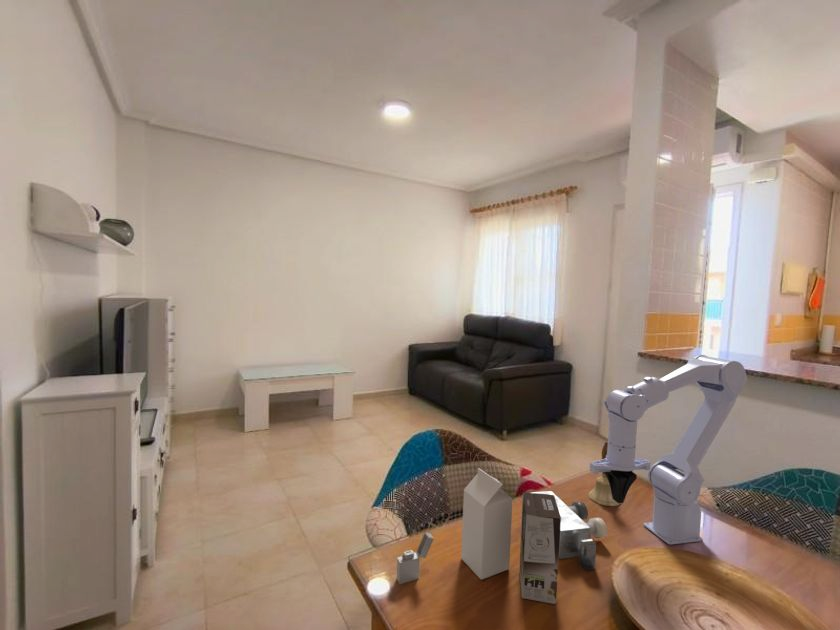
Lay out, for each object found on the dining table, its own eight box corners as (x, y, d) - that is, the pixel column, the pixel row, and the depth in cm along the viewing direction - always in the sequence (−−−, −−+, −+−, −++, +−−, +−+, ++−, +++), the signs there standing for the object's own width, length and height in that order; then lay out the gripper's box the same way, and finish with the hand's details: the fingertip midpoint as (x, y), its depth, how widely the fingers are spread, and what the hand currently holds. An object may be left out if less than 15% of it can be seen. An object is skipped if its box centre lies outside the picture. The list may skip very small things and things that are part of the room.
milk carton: (481, 581, 77) (484, 486, 76) (460, 558, 84) (464, 471, 83) (509, 570, 81) (513, 479, 80) (488, 549, 87) (491, 465, 86)
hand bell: (581, 492, 114) (585, 438, 113) (606, 490, 116) (610, 436, 115) (601, 508, 106) (605, 449, 105) (628, 505, 108) (631, 447, 107)
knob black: (577, 514, 101) (578, 498, 100) (587, 523, 97) (588, 507, 96) (550, 516, 99) (551, 501, 99) (559, 525, 95) (560, 509, 95)
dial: (588, 560, 84) (590, 535, 84) (598, 570, 82) (599, 544, 81) (576, 562, 84) (577, 536, 84) (584, 572, 81) (586, 545, 81)
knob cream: (595, 530, 94) (596, 514, 93) (606, 540, 90) (607, 523, 90) (566, 533, 92) (567, 516, 92) (576, 544, 88) (577, 526, 88)
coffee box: (557, 605, 72) (562, 519, 71) (520, 598, 73) (524, 514, 72) (551, 571, 81) (555, 494, 80) (518, 565, 82) (522, 490, 81)
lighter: (399, 584, 76) (400, 544, 75) (396, 578, 77) (397, 538, 77) (432, 574, 79) (434, 535, 78) (428, 568, 80) (430, 530, 80)
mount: (550, 514, 102) (551, 490, 101) (588, 555, 86) (590, 527, 86) (524, 516, 100) (525, 492, 100) (559, 558, 85) (561, 530, 84)
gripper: (636, 435, 97) (632, 490, 97) (582, 438, 94) (579, 494, 94) (659, 447, 90) (655, 505, 91) (602, 450, 87) (598, 510, 88)
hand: (617, 500), depth 92 cm, fingers closed
